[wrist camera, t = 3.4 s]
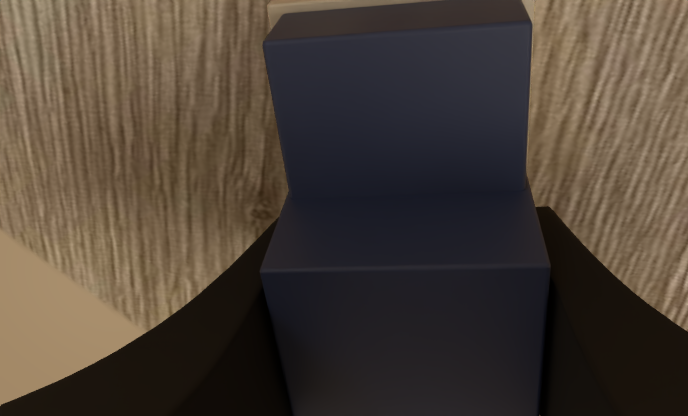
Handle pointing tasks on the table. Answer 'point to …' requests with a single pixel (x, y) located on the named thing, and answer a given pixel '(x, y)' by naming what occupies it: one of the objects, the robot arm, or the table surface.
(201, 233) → the table surface
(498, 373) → the dark stepped block
